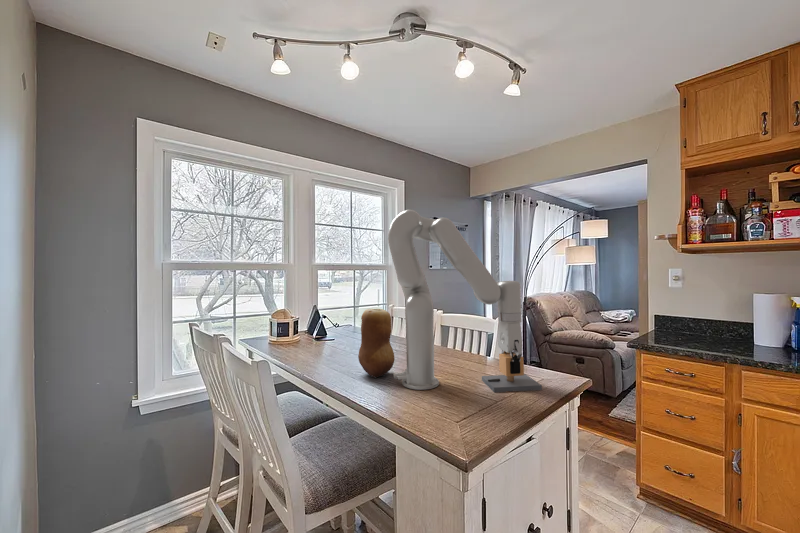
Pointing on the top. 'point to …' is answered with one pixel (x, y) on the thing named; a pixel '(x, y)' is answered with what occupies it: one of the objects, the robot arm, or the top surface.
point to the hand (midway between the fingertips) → (511, 370)
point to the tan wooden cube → (505, 365)
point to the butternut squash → (376, 342)
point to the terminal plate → (511, 383)
